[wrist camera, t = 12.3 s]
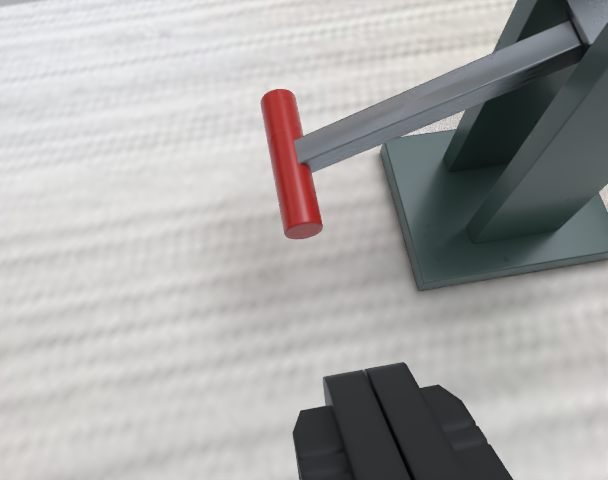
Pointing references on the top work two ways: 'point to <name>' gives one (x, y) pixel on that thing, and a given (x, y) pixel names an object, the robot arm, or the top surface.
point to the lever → (412, 109)
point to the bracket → (510, 173)
